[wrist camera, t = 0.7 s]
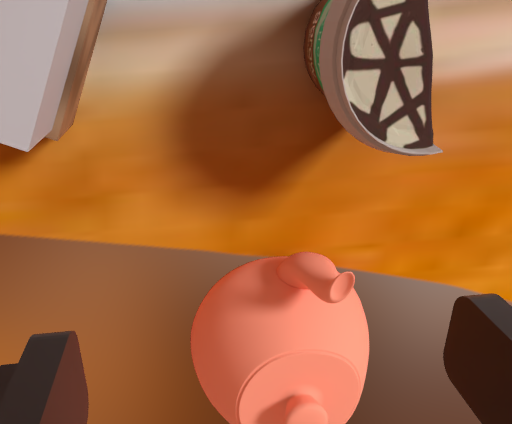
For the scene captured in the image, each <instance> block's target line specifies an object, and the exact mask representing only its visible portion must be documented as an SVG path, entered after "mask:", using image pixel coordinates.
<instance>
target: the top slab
mask: <svg viewBox="0 0 512 424" xmlns="http://www.w3.org/2000/svg"><path fill="white" fill-rule="evenodd" d="M88 1H89V0H0V143H2V144H5V145H8V146H11V147H14V148H17V149H20V150H23V151H26V152H28V151H30V150H31V149H32V148H33V147H34V146H35V145H36V144H37V143H38V142H39V141H40V140H42V139H43V138H44V137H45V136H46V135H47V134H48V133H49V132H50V131H51V130H52V128H53V124H54V121H55V117H56V114H57V110H58V107H59V103H60V100H61V96H62V93H63V89H64V85H65V82H66V78H67V75H68V71H69V68H70V64H71V61H72V57H73V54H74V50H75V47H76V43H77V40H78V36H79V32H80V29H81V25H82V22H83V18H84V15H85V11H86V8H87V4H88Z"/></svg>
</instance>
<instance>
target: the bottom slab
mask: <svg viewBox="0 0 512 424" xmlns="http://www.w3.org/2000/svg"><path fill="white" fill-rule="evenodd" d="M106 3H107V0H89V1H88V4H87V8H86V11H85V15H84V18H83V22H82V25H81V29H80V32H79V36H78V40H77V43H76V47H75V50H74V54H73V57H72V61H71V64H70V68H69V71H68V75H67V78H66V82H65V85H64V89H63V93H62V96H61V100H60V103H59V107H58V110H57V114H56V117H55V121H54V124H53V128H52V130H51V131H50V132H49V133H48V134H47V135H46V136H45V137H46V138H49V139H52V140H55V141H58V140H59V139H60V138H61V137H62V135H63V134H64V133H65V132H66V131H67V130H68V129H69V128H70V127H71V126H72V125H73V122H74V118H75V114H76V111H77V107H78V104H79V100H80V96H81V93H82V89H83V86H84V82H85V78H86V75H87V71H88V68H89V64H90V60H91V57H92V53H93V50H94V46H95V42H96V39H97V35H98V32H99V28H100V24H101V21H102V17H103V14H104V10H105V6H106Z"/></svg>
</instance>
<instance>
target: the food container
mask: <svg viewBox="0 0 512 424" xmlns="http://www.w3.org/2000/svg"><path fill="white" fill-rule="evenodd" d="M304 59H305V63H306V68H307V70H308V73H309V75H310V77H311V79H312V81H313V82H314V84H315V86H316V87H317V88H318V89H319V90H320V91H321V92H322V93H323V94H324V95H325V96H326V99H327V101H328V104H329V106H330V108H331V110H332V112H333V113H334V115H335V117H336V118H337V120H338V121H339V122H340V123H341V125H342V126H343V127H344V128H345V129H346V130H347V131H348V132H349V133H350V134H351V135H353V136H354V137H355V138H356V139H358V140H359V141H361V142H362V143H364V144H366V145H368V146H370V147H372V148H375V149H378V150H381V151H384V152H390V153H395V154H402V155H408V156H424V155H430V154H436V153H441V152H443V151H442V150H441V149H440V148H438V147H437V146H435V145H434V144H433V129H432V116H431V86H432V60H433V52H432V41H431V31H430V23H429V11H428V0H321V1H320V2H319V4H318V5H317V6H316V7H315V9H314V10H313V13H312V15H311V18H310V20H309V23H308V25H307V28H306V31H305V39H304Z"/></svg>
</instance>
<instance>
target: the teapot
mask: <svg viewBox="0 0 512 424" xmlns="http://www.w3.org/2000/svg"><path fill="white" fill-rule="evenodd" d="M354 282H355V276H354V274H353V273H352V272H344V273H341V274H340V273H339V272H337V270H336V268H335V266H334V264H333V263H332V262H331V261H330V260H329V259H328V258H327V257H325V256H323V255H320V254H317V253H311V252H300V253H296V254H293V255H291V256H289V257H285V256H283V257H270V258H264V259H258V260H255V261H252V262H248V263H246V264H244V265H242V266H239V267H237V268H236V269H234V270H232V271H231V272H229V273H228V274H226V275H225V276H224V277H223V278H221V279H220V280H219V281H218V282H217V283H216V284H215V285H214V286H213V287H212V288H211V289H210V291H209V292H208V293H207V295H206V296H205V298H204V299H203V301H202V303H201V305H200V306H199V308H198V310H197V313H196V315H195V318H194V321H193V325H192V329H191V338H190V341H191V353H192V360H193V364H194V368H195V371H196V374H197V377H198V379H199V382H200V384H201V386H202V389H203V391H204V392H205V394H206V396H207V397H208V399H209V400H210V402H211V403H212V405H213V406H214V407H215V408H216V410H217V411H218V412H219V413H220V414H221V415H222V416H223V417H224V418H225V419H226V420H227V421H228V422H229V423H230V424H345V423H346V422H347V421H348V420H349V418H350V417H351V416H352V414H353V412H354V410H355V409H356V406H357V404H358V401H359V399H360V396H361V393H362V390H363V386H364V381H365V377H366V371H367V366H368V358H369V333H368V326H367V321H366V317H365V314H364V310H363V308H362V304H361V301H360V299H359V297H358V295H357V293H356V292H355V290H354V288H353V286H354Z"/></svg>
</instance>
